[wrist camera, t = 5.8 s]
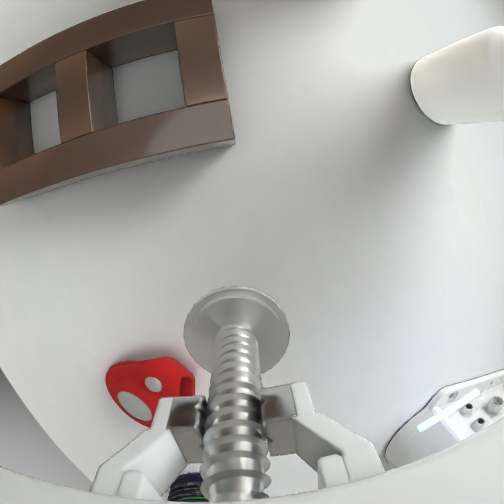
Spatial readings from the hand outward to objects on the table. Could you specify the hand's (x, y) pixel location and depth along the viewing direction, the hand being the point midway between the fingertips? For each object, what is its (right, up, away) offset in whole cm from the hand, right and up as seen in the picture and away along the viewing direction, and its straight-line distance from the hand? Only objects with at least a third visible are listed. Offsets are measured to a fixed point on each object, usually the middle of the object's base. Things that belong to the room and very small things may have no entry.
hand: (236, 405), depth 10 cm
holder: (-11, +16, +11) cm, 23 cm away
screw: (0, +2, +7) cm, 7 cm away
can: (+17, +19, +12) cm, 28 cm away
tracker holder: (-9, -9, +18) cm, 23 cm away
